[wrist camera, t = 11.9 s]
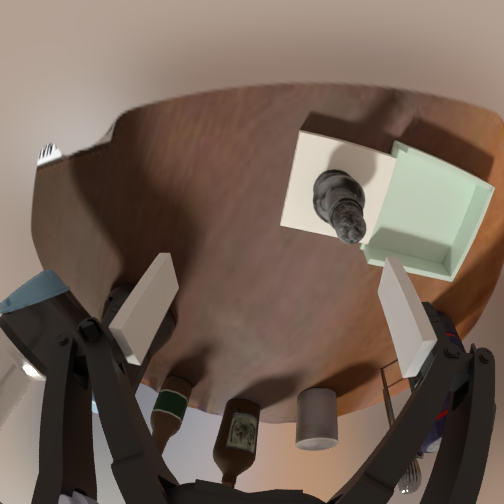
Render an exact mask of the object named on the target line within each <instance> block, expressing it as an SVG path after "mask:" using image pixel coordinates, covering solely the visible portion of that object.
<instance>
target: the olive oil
mask: <svg viewBox="0 0 504 504" xmlns="http://www.w3.org/2000/svg"><path fill="white" fill-rule="evenodd" d="M259 416H260V407H259V406H258V405H257V404H256V403H254V402H251V401H248V400H243V399H234V400H230V401H228V402H227V404H226V407H225V411H224V415H223V419H222V422H221V425H220V429H219V433H218V436H217V439H216V443H215V446H214V449H213V458H214V461H215V462H216V464H217V466H218V467H219V468H220V470H221V471H222V473H223V477H222V484H223V485H226V486H229V487H231V488H234V485H235V484H236V478H237V476H238V475H239V474H241V473H242V472H244V471H245V470H247V469H248V468H249V467H251V465H252V464H253V462H254V460H255V456H256V445H257V434H258V424H259Z"/></svg>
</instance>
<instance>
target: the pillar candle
mask: <svg viewBox="0 0 504 504" xmlns="http://www.w3.org/2000/svg"><path fill="white" fill-rule="evenodd" d="M296 426H297V427H296V447H297V448H299V449H302V450H312V451H315V450H325V449H329V448H332V447H334V446H336V445H337V444H338V424H337V402H336V393H335V392H334V391H333V390H331V389H328V388H312V389H308V390H305V391H303V392H301V393H300V394H299V396H298V398H297V424H296Z"/></svg>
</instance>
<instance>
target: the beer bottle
mask: <svg viewBox="0 0 504 504" xmlns="http://www.w3.org/2000/svg"><path fill="white" fill-rule="evenodd" d="M191 391H192V389H191V384H190V383H189V382H187V381H186V380H184V379H183V378H179V377H175V376H170V377H167V378H166V379H165V381H164V383H163V385H162V387H161V390H160V393H159V395H158V398H157V400H156V403H155V406H154V408H153V411H152V414H151V426H152V429H153V432H152V438H153V440H154V442H155V444H156V446H157V448H158V450H159V452H160V454H161V456H162V453H163V451H164V448H165V446H166V443H167V441H168V440H169V438H170V437H171V436H173V435H174V434H176V433H177V431H178V430H179V429H180V426H181V424H182V421H183V417H184V414H185V411H186V408H187V405H188V402H189V398H190V395H191Z"/></svg>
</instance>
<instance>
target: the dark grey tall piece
mask: <svg viewBox="0 0 504 504" xmlns="http://www.w3.org/2000/svg"><path fill="white" fill-rule="evenodd" d="M313 194H314V195H313V207H314V210H315V212H316V214H317V215H318V217H319V218H320V219H321V220H323V221H324V222H326V223H328V224H330V225H331V227H332V228H333V229H335V231H336V234H337V236H338V238H339V239H340V240H341V241H342V242H344V243H346V244H355V243H358V242H359V241H361V240H362V239H363V238H364V236H365V234H366V223H365V220H364V218H363V216H364V215H363V209H364V206H365V193H364V191H363V188H362V187H361V185H360V184H359V183H358V182H357V181H356V180H355V179H353V178H352V177H351V176H350V175H349V174H347V173H346V172H344V171H342V170H337V169H333V170H328V171H325V172H323V173H322V174H321V175H319V176H318V178H317V179H316V181H315V183H314V186H313Z"/></svg>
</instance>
